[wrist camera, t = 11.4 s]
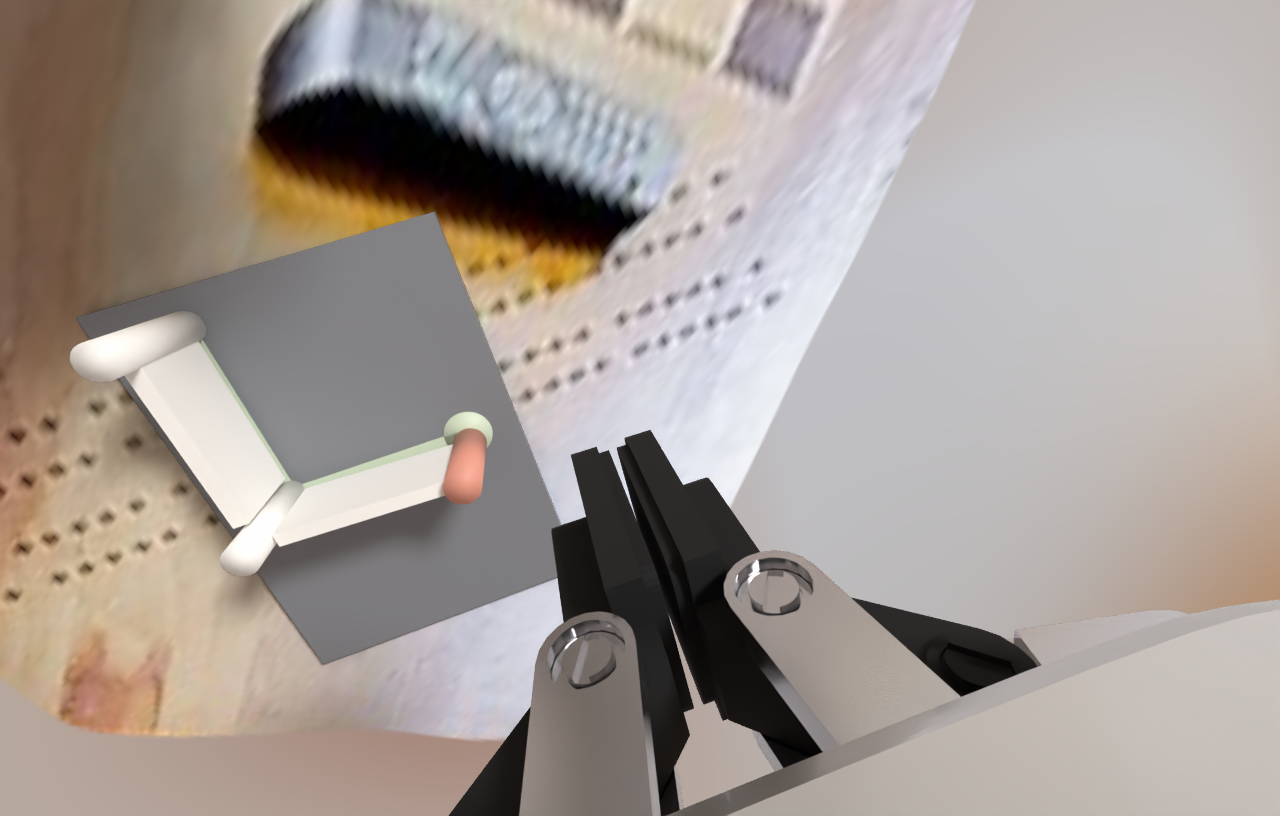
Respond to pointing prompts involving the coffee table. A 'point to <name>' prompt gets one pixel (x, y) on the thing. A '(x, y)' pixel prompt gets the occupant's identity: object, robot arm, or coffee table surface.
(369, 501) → the fence swing section
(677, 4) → the coffee table surface
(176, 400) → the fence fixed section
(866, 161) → the coffee table surface
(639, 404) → the coffee table surface
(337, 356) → the card
